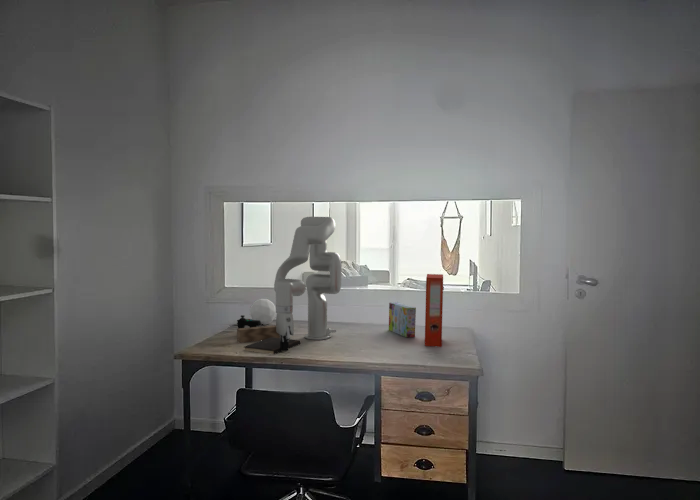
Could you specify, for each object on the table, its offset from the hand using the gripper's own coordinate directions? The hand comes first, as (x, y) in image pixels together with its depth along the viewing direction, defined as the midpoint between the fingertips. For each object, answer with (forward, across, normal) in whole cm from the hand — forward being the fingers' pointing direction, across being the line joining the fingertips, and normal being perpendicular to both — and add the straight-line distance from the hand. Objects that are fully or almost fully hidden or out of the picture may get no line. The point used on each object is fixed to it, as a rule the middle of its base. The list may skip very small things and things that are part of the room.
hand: (284, 350), depth 259 cm
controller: (+1, +40, +3) cm, 40 cm away
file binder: (+1, -14, -71) cm, 72 cm away
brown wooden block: (+1, +29, 0) cm, 29 cm away
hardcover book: (+2, +11, +1) cm, 11 cm away
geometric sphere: (+1, +67, -15) cm, 69 cm away
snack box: (+1, +11, -69) cm, 70 cm away
